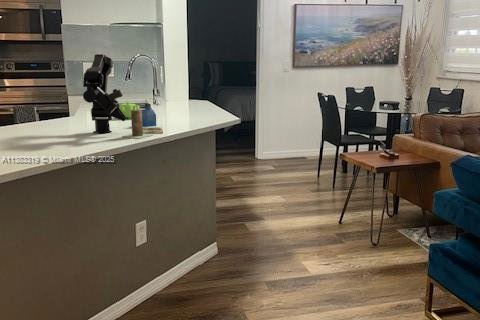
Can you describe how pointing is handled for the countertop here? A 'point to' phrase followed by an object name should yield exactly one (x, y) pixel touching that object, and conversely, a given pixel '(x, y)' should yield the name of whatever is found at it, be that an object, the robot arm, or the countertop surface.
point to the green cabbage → (128, 109)
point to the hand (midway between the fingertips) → (124, 119)
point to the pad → (137, 136)
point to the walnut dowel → (136, 122)
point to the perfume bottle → (148, 116)
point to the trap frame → (153, 131)
